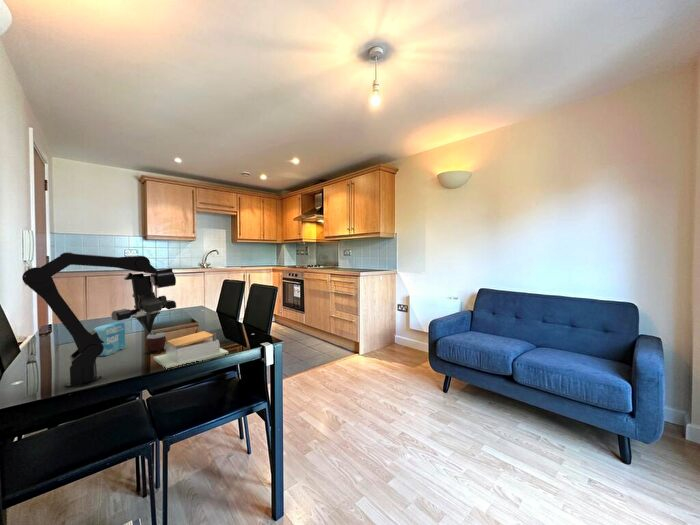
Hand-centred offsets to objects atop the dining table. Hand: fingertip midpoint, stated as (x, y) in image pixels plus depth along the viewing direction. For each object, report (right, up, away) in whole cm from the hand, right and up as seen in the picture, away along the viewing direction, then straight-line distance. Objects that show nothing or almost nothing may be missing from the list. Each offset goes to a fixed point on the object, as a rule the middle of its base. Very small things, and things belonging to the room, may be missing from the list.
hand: (149, 332), depth 107 cm
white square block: (+10, -11, +11) cm, 18 cm away
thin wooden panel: (+10, -5, +10) cm, 15 cm away
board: (+10, -12, +10) cm, 19 cm away
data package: (-30, -13, +19) cm, 38 cm away
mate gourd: (-9, -13, +18) cm, 24 cm away
